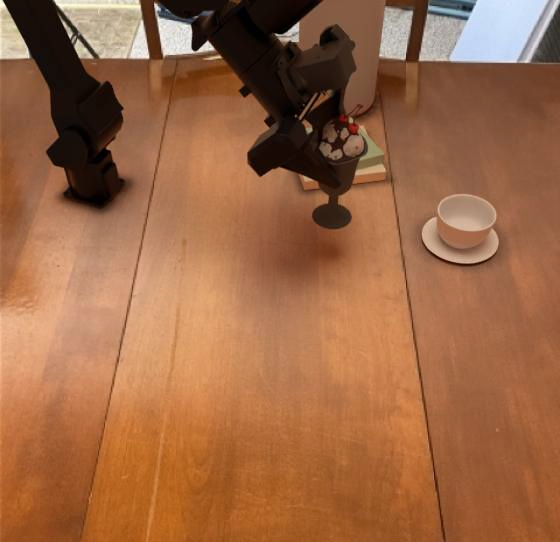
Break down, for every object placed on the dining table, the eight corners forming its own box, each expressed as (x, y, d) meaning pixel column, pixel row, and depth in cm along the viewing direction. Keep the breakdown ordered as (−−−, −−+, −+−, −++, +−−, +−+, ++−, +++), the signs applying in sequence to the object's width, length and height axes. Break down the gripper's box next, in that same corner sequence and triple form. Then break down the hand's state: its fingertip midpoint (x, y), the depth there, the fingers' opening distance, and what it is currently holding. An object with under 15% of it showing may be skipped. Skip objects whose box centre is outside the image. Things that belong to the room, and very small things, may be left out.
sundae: (370, 221, 83) (386, 108, 72) (326, 241, 81) (336, 128, 69) (337, 193, 87) (348, 81, 75) (294, 211, 84) (298, 99, 73)
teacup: (490, 273, 86) (500, 245, 82) (413, 255, 88) (419, 226, 84) (503, 225, 92) (512, 197, 88) (430, 209, 94) (436, 180, 90)
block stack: (303, 191, 96) (304, 173, 94) (285, 142, 104) (285, 124, 101) (386, 180, 98) (389, 162, 95) (362, 133, 105) (364, 115, 103)
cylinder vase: (365, 126, 106) (384, -51, 87) (288, 113, 108) (290, -62, 89) (380, 86, 114) (401, -85, 94) (308, 75, 116) (314, -95, 96)
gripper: (275, 55, 61) (379, 187, 67) (341, -27, 71) (424, 94, 78) (202, 117, 68) (301, 230, 75) (271, 35, 79) (352, 139, 86)
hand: (347, 170), depth 78 cm, fingers closed on sundae, 6 cm apart
